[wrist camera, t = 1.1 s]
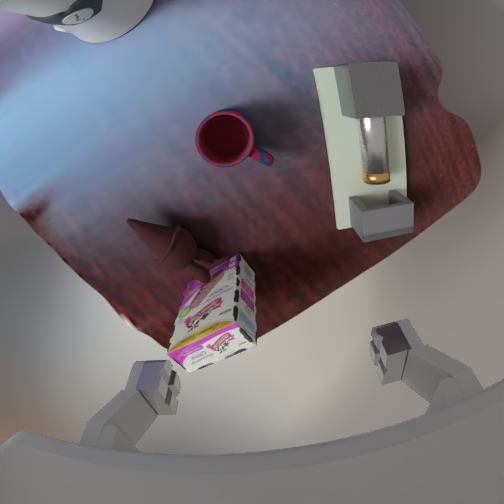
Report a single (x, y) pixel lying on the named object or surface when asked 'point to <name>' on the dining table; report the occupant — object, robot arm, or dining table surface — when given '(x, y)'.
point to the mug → (228, 140)
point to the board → (355, 153)
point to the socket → (382, 217)
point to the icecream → (173, 248)
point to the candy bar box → (216, 316)
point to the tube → (374, 150)
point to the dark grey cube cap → (369, 89)
